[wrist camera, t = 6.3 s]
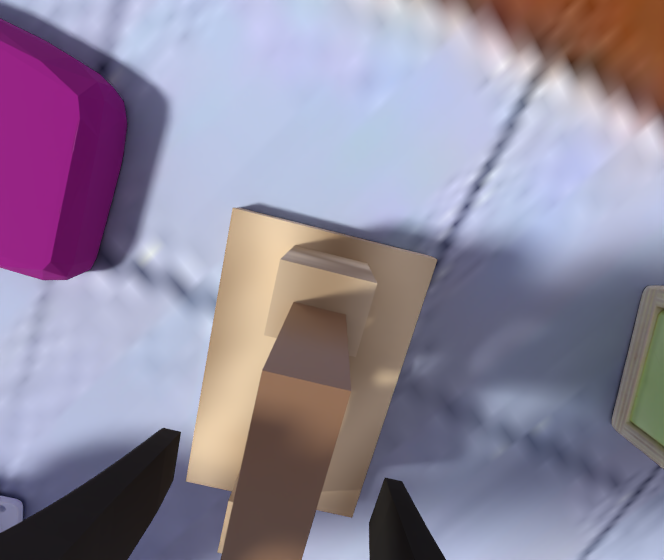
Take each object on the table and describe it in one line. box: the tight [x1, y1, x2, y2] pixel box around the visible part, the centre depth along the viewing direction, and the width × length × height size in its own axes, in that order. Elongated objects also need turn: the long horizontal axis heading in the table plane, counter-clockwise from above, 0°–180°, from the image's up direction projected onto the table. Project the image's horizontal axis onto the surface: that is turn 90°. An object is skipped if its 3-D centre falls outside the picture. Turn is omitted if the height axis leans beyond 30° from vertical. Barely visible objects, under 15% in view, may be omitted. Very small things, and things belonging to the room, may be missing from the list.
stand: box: [186, 208, 437, 553], centre depth 16 cm, size 10×16×5 cm, turn 166°
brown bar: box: [221, 302, 351, 560], centre depth 11 cm, size 2×12×5 cm, turn 166°
